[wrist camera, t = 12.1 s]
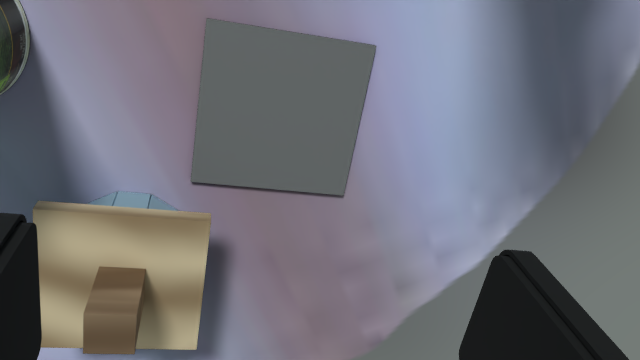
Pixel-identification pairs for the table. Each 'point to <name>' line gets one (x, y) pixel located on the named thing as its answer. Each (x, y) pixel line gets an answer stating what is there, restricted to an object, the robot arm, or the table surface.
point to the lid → (120, 276)
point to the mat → (278, 108)
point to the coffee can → (12, 42)
